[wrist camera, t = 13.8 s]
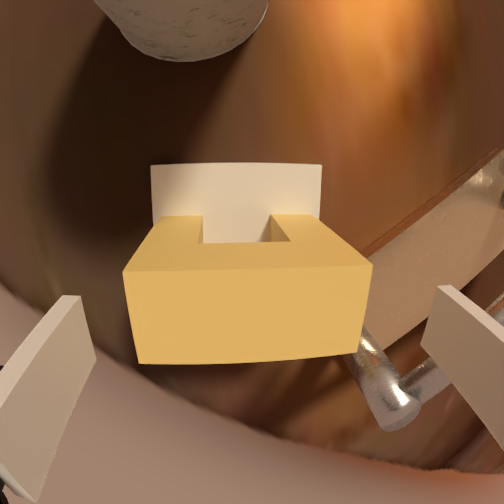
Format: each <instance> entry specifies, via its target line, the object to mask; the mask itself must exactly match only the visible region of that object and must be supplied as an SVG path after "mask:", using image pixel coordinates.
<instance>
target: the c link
mask: <svg viewBox="0 0 504 504" xmlns="http://www.w3.org/2000/svg"><path fill="white" fill-rule="evenodd" d="M372 269H373V264H372V263H371V262H369V261H368V260H367V259H366V258H365V257H363V256H362V255H361V254H360V253H359V252H357V251H356V250H355V249H354V248H353V247H351V246H350V245H349V244H348V243H347V242H345V241H344V240H343V239H342V238H340V237H339V236H338V235H337V234H335V233H334V232H333V231H332V230H331V229H329V228H328V227H327V226H326V225H324V224H323V223H322V222H321V221H319V220H318V219H317V218H315V217H314V216H313V215H312V214H271V220H270V242H241V243H204V242H203V215H185V216H161V217H160V218H159V219H158V221H157V222H156V224H155V225H154V226H153V228H152V229H151V231H150V232H149V233H148V235H147V236H146V238H145V239H144V241H143V242H142V243H141V245H140V246H139V248H138V249H137V251H136V252H135V254H134V255H133V257H132V258H131V260H130V261H129V263H128V264H127V266H126V267H125V269H124V270H123V279H124V286H125V292H126V298H127V304H128V310H129V316H130V322H131V327H132V332H133V337H134V342H135V347H136V352H137V357H138V361H139V364H227V363H250V362H267V361H281V360H293V359H304V358H314V357H323V356H332V355H341V354H348V353H356V352H357V350H358V345H359V340H360V336H361V331H362V326H363V321H364V316H365V311H366V305H367V300H368V294H369V288H370V282H371V275H372Z"/></svg>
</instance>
